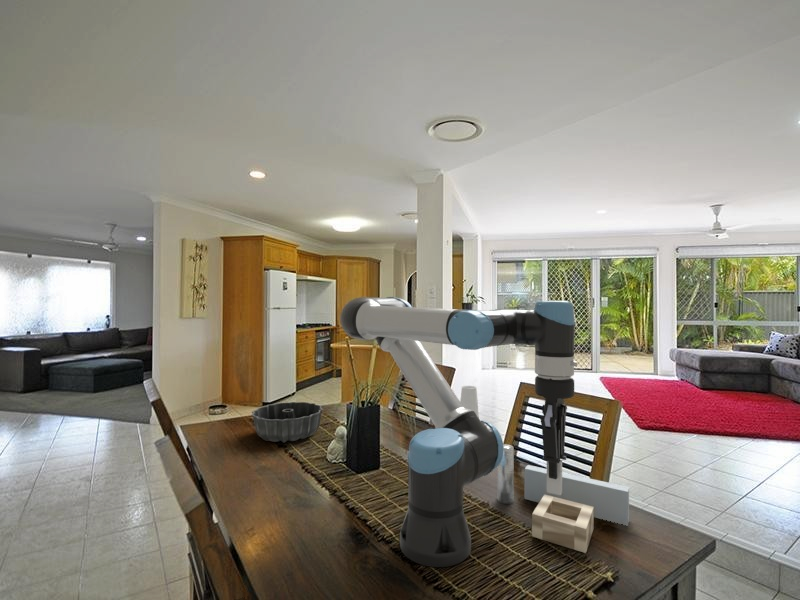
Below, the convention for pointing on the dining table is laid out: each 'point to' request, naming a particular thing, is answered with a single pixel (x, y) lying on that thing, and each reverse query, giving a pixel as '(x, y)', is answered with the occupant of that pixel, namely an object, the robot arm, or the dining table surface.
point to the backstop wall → (582, 493)
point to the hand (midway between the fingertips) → (554, 492)
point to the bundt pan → (287, 421)
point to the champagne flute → (470, 398)
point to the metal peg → (506, 475)
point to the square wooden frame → (563, 522)
